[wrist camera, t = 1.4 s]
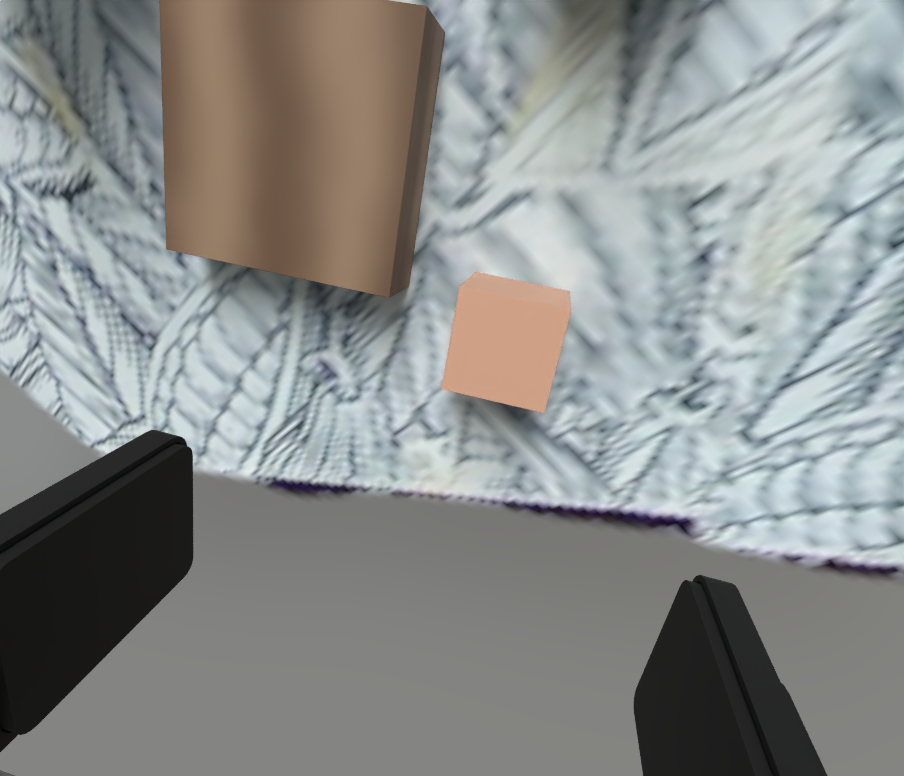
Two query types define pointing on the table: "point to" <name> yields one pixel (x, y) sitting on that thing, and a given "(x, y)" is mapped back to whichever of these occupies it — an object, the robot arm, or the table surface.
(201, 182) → the walnut block
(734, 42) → the table surface
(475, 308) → the terracotta cube
